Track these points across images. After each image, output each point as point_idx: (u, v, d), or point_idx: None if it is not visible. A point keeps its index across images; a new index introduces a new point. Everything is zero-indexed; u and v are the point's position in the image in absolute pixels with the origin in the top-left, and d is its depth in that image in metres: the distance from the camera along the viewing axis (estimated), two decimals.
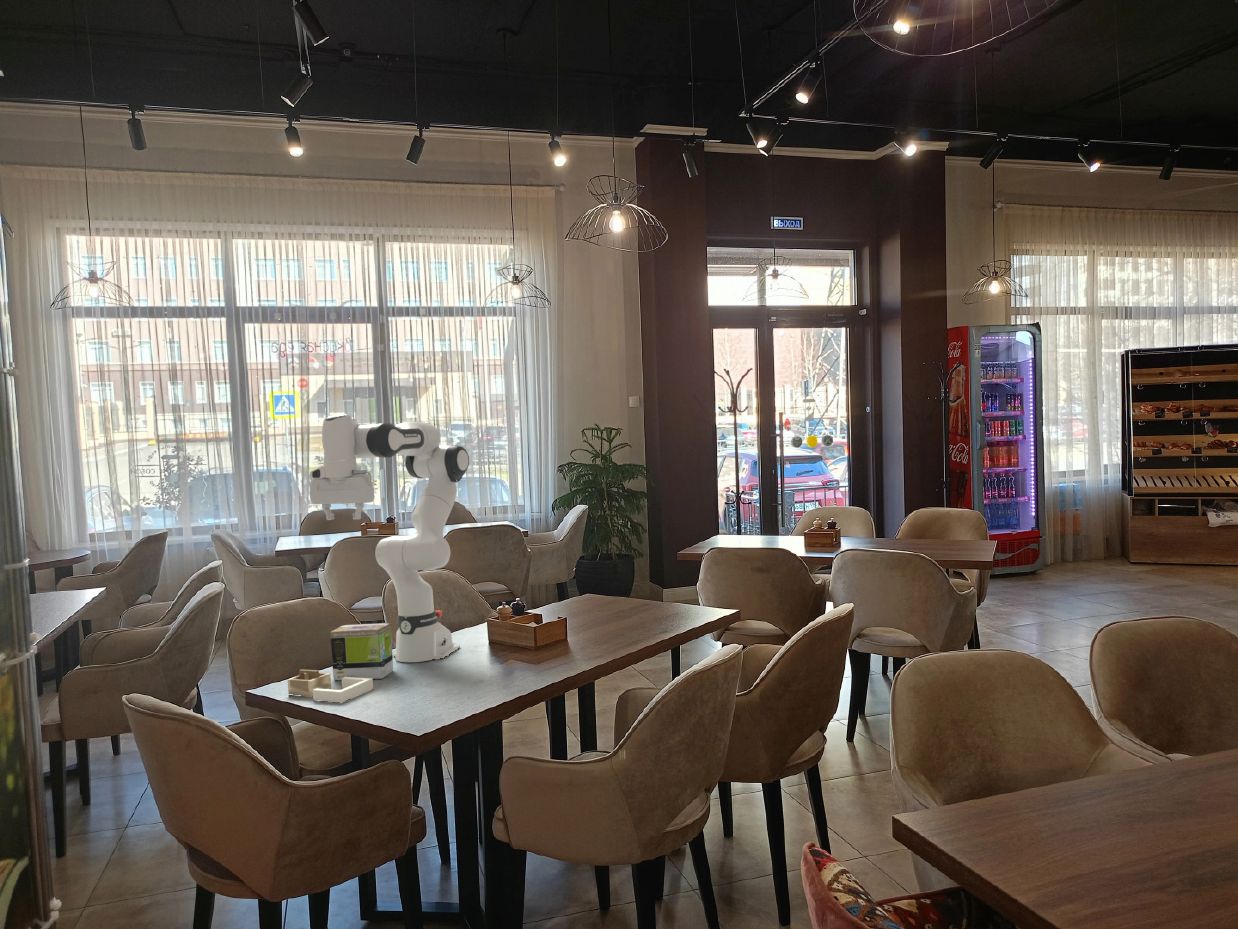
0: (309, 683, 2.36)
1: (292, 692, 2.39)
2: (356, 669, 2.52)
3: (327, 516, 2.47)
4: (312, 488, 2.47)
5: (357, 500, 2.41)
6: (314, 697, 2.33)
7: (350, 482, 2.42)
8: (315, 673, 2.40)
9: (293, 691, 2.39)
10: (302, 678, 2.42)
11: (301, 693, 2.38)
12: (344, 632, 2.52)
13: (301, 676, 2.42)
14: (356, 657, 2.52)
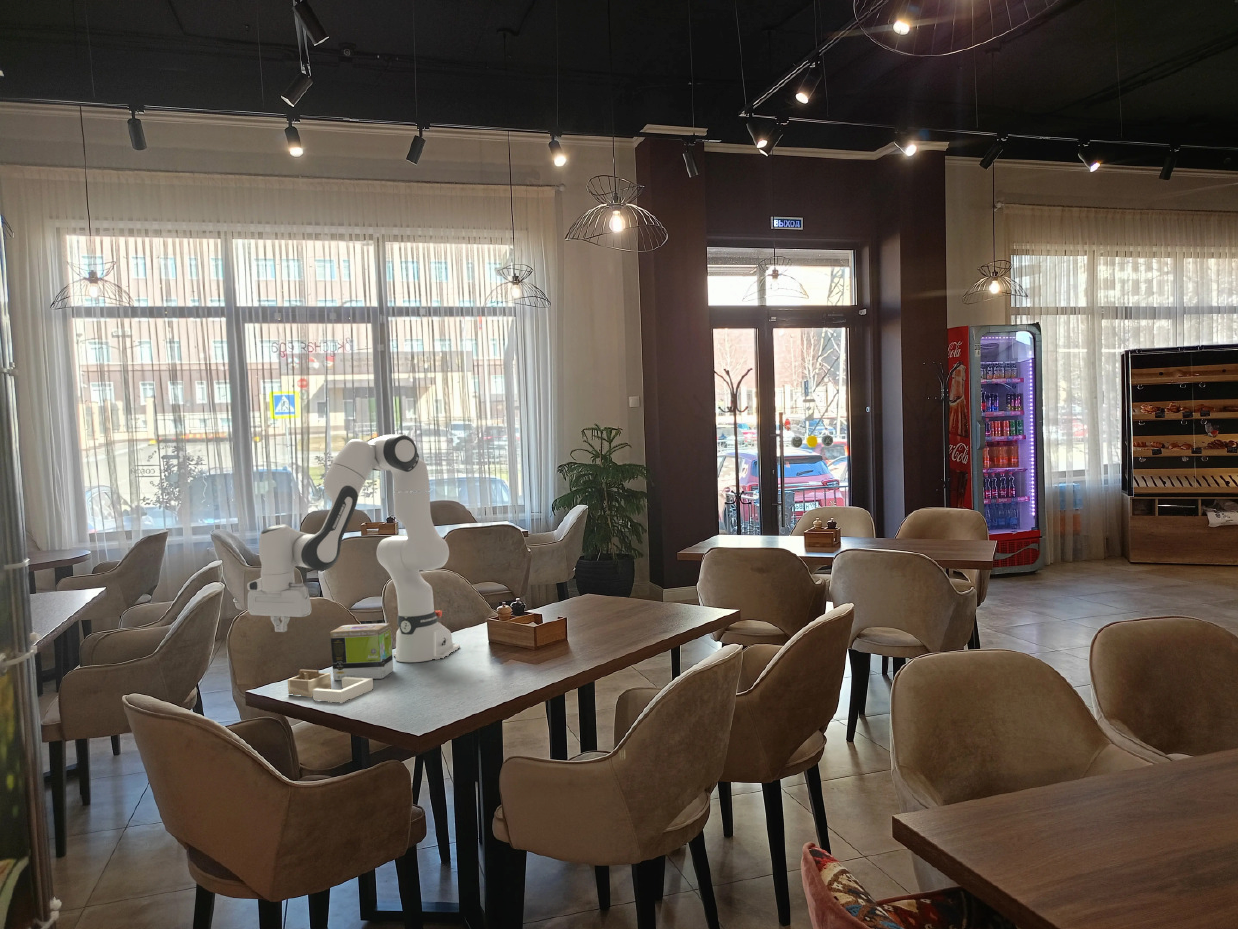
0: (309, 683, 2.36)
1: (292, 692, 2.39)
2: (356, 669, 2.52)
3: (276, 628, 2.44)
4: (250, 599, 2.45)
5: (293, 614, 2.40)
6: (314, 697, 2.33)
7: (287, 595, 2.41)
8: (315, 673, 2.40)
9: (293, 691, 2.39)
10: (302, 678, 2.42)
11: (301, 693, 2.38)
12: (344, 632, 2.52)
13: (301, 676, 2.42)
14: (356, 657, 2.52)
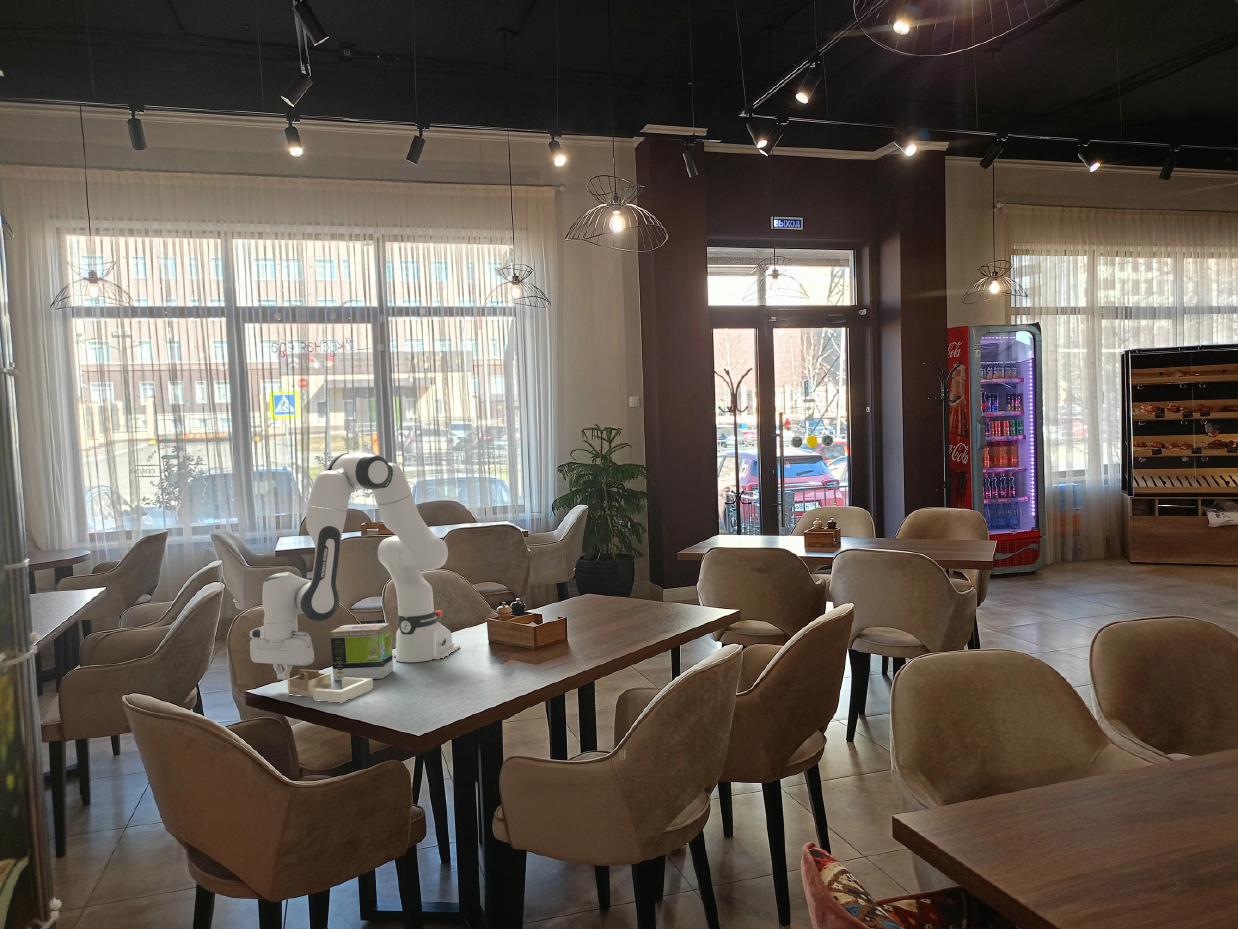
0: (309, 683, 2.36)
1: (292, 692, 2.39)
2: (356, 669, 2.52)
3: (278, 676, 2.44)
4: (252, 647, 2.45)
5: (296, 662, 2.40)
6: (314, 697, 2.33)
7: (290, 644, 2.41)
8: (315, 673, 2.40)
9: (293, 691, 2.39)
10: (302, 678, 2.42)
11: (301, 693, 2.38)
12: (344, 632, 2.52)
13: (301, 676, 2.42)
14: (356, 657, 2.52)
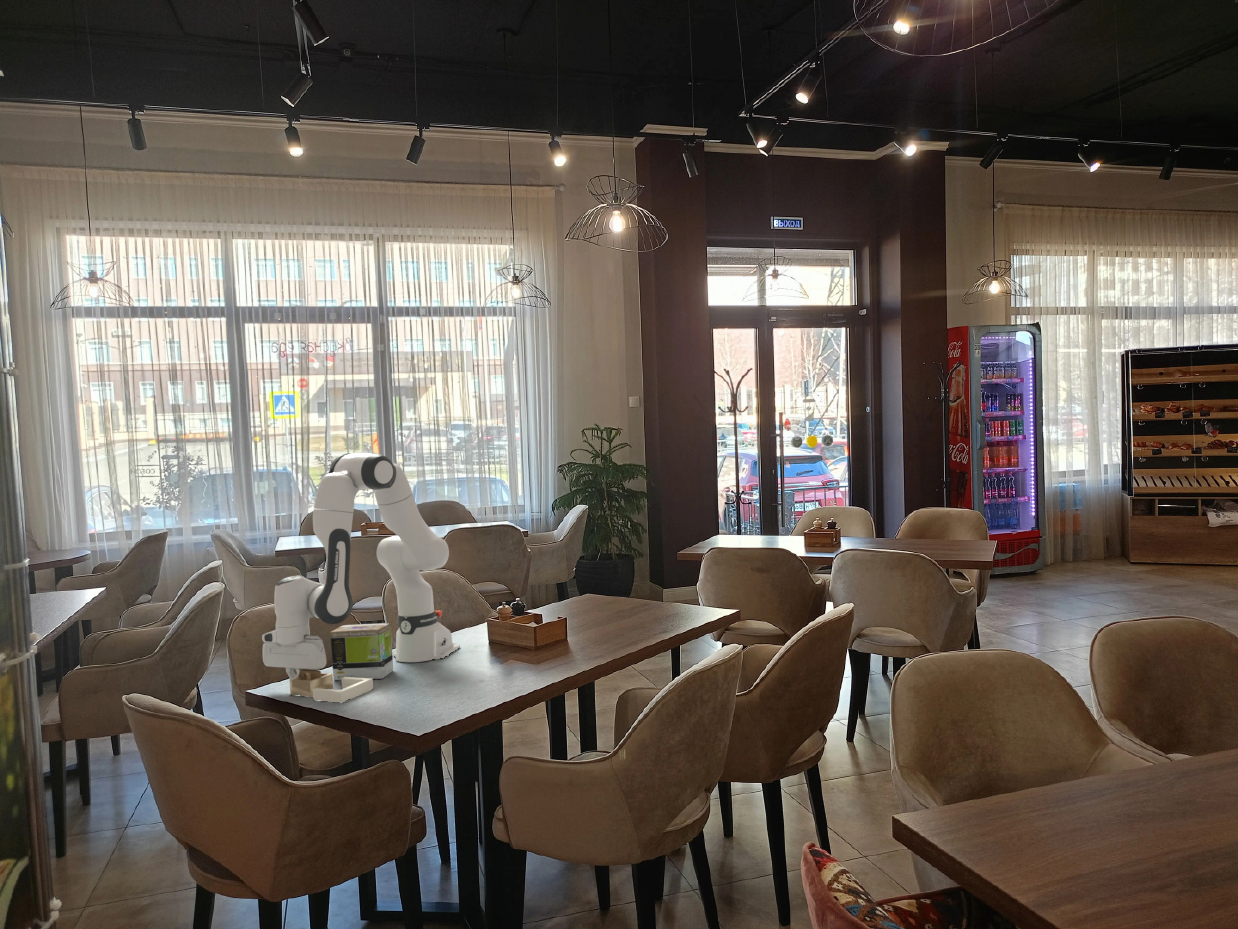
0: (311, 683, 2.36)
1: (294, 692, 2.38)
2: (356, 669, 2.52)
3: None
4: (265, 651, 2.44)
5: (309, 667, 2.39)
6: (314, 697, 2.33)
7: (302, 648, 2.40)
8: (317, 673, 2.40)
9: (295, 691, 2.38)
10: (304, 678, 2.42)
11: (303, 693, 2.37)
12: (344, 632, 2.52)
13: (303, 676, 2.42)
14: (356, 657, 2.52)
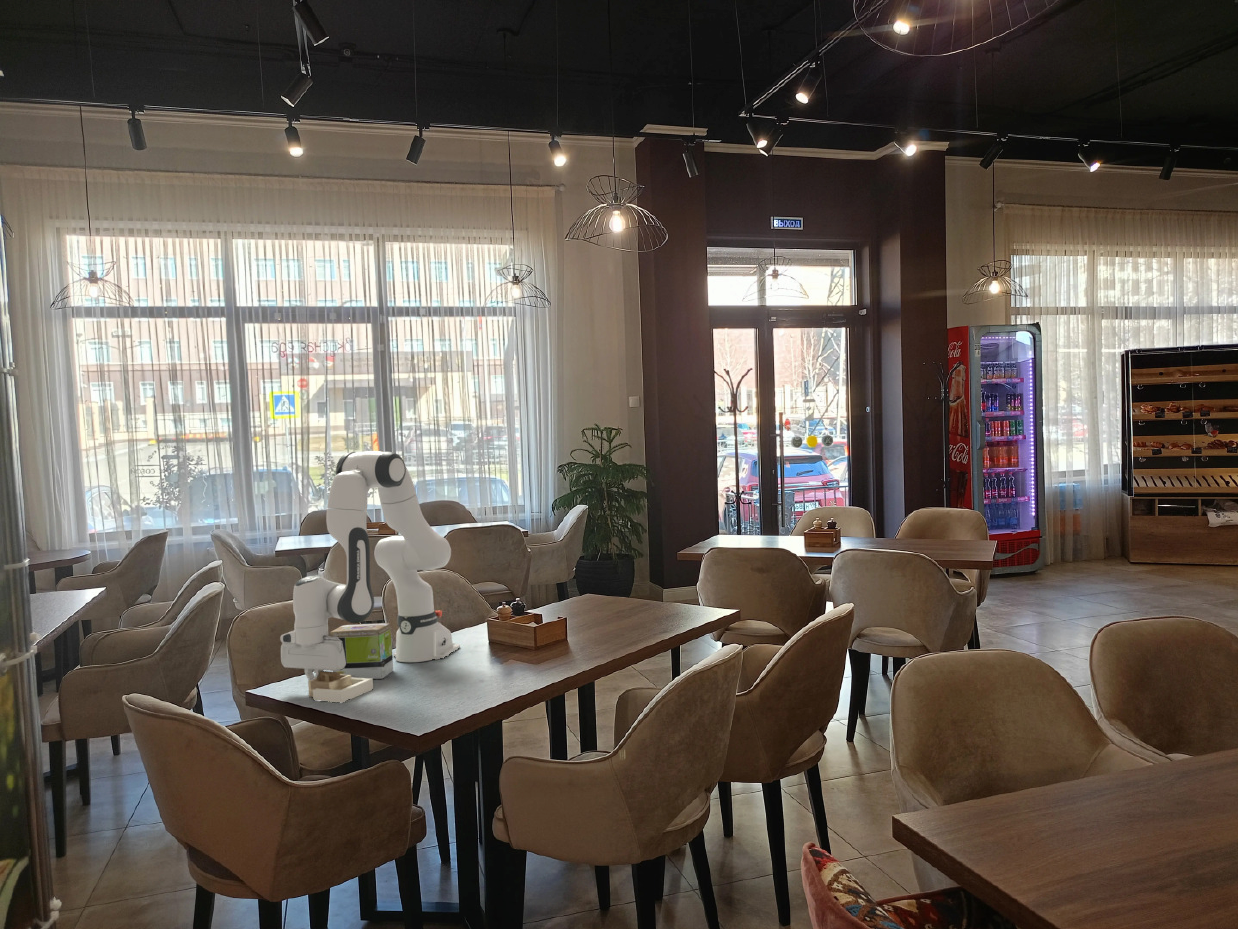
0: (330, 685, 2.33)
1: None
2: (356, 669, 2.52)
3: None
4: (283, 651, 2.42)
5: (328, 668, 2.36)
6: (314, 697, 2.33)
7: (321, 649, 2.37)
8: (336, 675, 2.37)
9: None
10: (323, 680, 2.39)
11: None
12: (344, 632, 2.52)
13: (322, 678, 2.39)
14: (356, 657, 2.52)
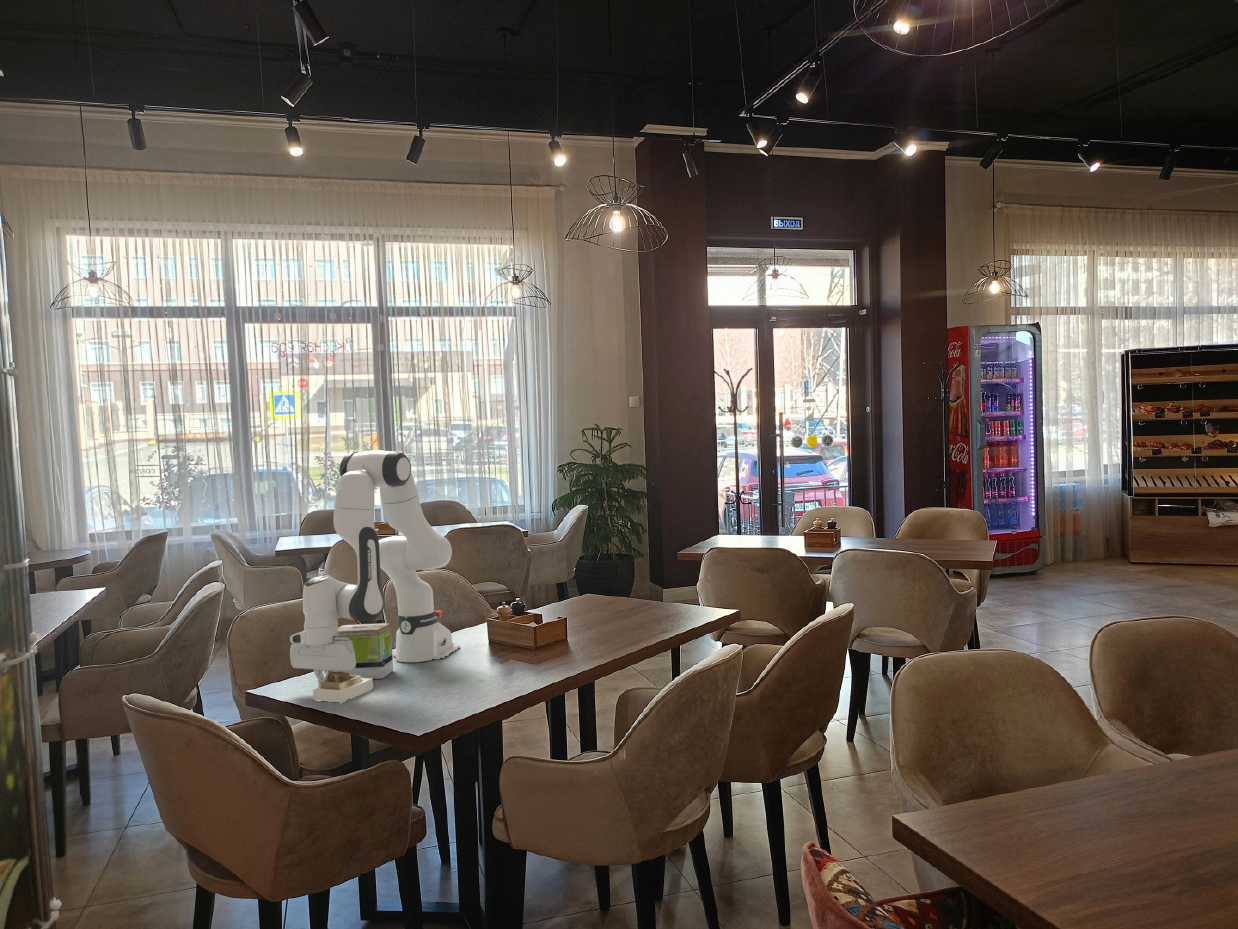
0: (340, 686, 2.32)
1: None
2: (356, 669, 2.52)
3: None
4: (292, 652, 2.40)
5: (338, 668, 2.35)
6: (314, 697, 2.33)
7: (331, 649, 2.36)
8: (346, 675, 2.35)
9: None
10: (333, 681, 2.38)
11: None
12: (344, 632, 2.52)
13: (332, 678, 2.38)
14: (356, 657, 2.52)
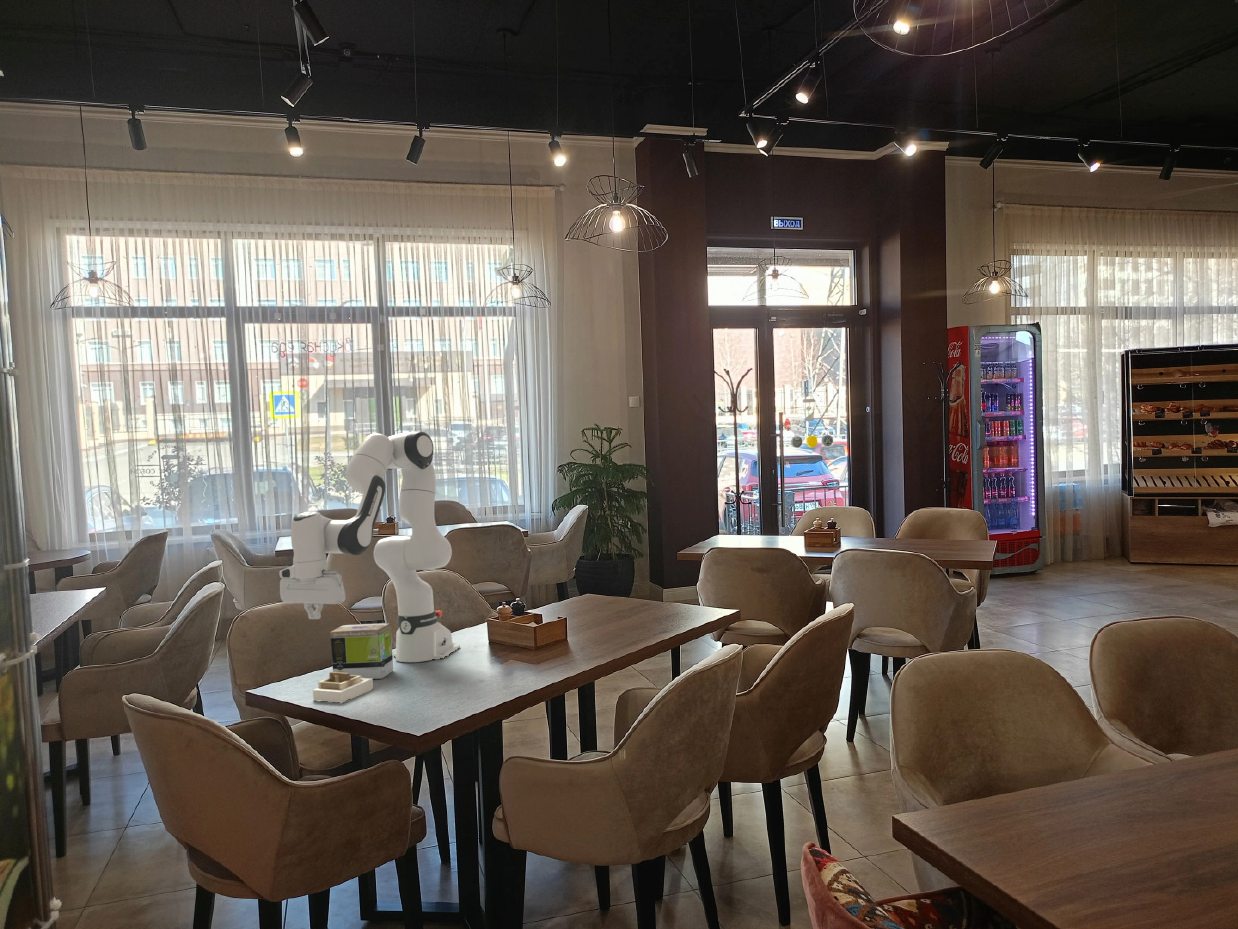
0: (340, 686, 2.32)
1: None
2: (356, 669, 2.52)
3: (309, 615, 2.42)
4: (282, 587, 2.43)
5: (328, 601, 2.38)
6: (314, 697, 2.33)
7: (320, 583, 2.38)
8: (346, 675, 2.35)
9: None
10: (333, 681, 2.38)
11: None
12: (344, 632, 2.52)
13: (332, 678, 2.38)
14: (356, 657, 2.52)
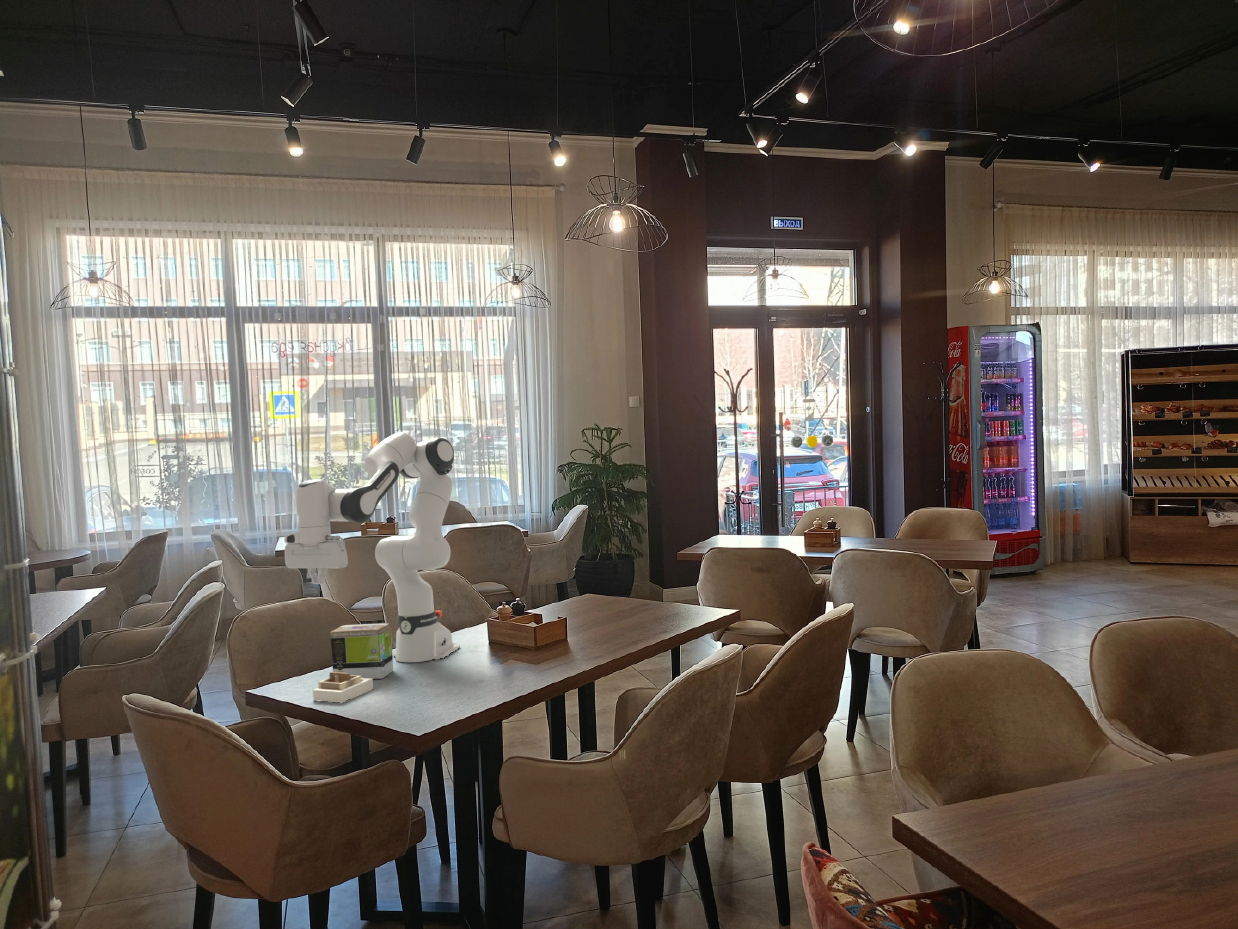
0: (340, 686, 2.32)
1: None
2: (356, 669, 2.52)
3: (312, 580, 2.48)
4: (287, 552, 2.50)
5: (331, 566, 2.45)
6: (314, 697, 2.33)
7: (324, 548, 2.45)
8: (346, 675, 2.35)
9: None
10: (333, 681, 2.38)
11: None
12: (344, 632, 2.52)
13: (332, 678, 2.38)
14: (356, 657, 2.52)
